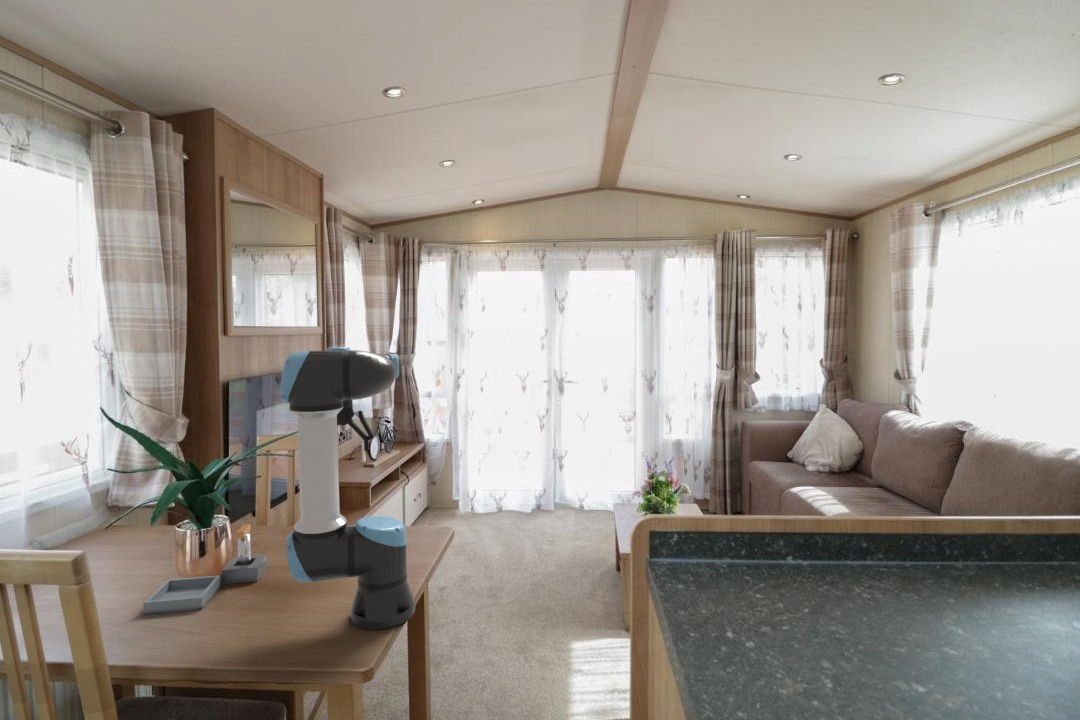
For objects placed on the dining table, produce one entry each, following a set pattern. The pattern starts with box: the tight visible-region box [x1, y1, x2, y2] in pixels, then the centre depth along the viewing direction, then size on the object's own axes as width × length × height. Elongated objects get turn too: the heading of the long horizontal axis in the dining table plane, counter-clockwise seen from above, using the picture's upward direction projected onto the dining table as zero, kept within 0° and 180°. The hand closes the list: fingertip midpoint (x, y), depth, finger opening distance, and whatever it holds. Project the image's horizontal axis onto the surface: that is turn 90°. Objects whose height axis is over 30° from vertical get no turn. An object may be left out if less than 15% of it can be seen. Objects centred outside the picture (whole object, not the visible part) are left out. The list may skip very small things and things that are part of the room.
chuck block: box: [221, 554, 268, 585], centre depth 160 cm, size 9×9×4 cm
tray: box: [143, 574, 222, 615], centre depth 146 cm, size 13×13×3 cm
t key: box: [236, 523, 252, 566], centre depth 159 cm, size 6×3×14 cm, turn 11°
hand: (341, 462), depth 180 cm, fingers open, 13 cm apart
